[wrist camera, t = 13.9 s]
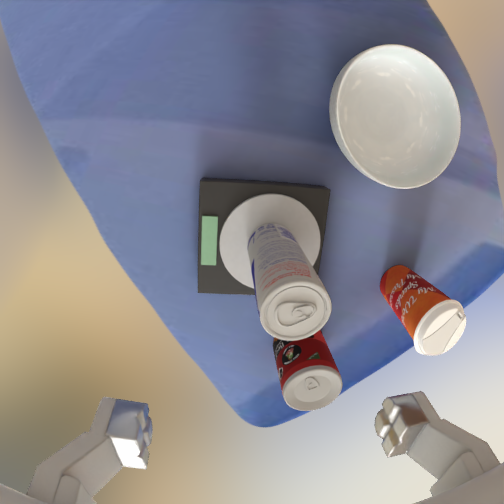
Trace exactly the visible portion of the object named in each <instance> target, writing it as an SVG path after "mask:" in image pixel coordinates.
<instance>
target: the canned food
mask: <svg viewBox="0 0 504 504" xmlns="http://www.w3.org/2000/svg"><path fill="white" fill-rule="evenodd" d="M273 350H274V355H275V360H276V365H277V370H278V375H279V380H280V385H281V390H282V394H283V397H284V399H285V402H286V403H287V404H288V405H289V406H290V407H292V408H294V409H297V410H301V411H311V410H316V409H320V408H322V407H325V406H327V405H328V404H330V403H331V402H332V401H334V400H335V399H336V398H337V397H338V395H339V394H340V392H341V389H342V379H341V376H340V373H339V371H338V368H337V366H336V364H335V362H334V359H333V357H332V355H331V353H330V350H329V348H328V346H327V344H326V341H325V339H324V337H323V335H322V333H321V331H320V330H319V331H318V332H316V333H315V334H313V335H311V336H309V337H307V338H304V339H300V340H294V341H287V340H281V339H278V338H276V337H275V338H274V342H273Z"/></svg>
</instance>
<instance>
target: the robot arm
mask: <svg viewBox="0 0 504 504" xmlns="http://www.w3.org/2000/svg"><path fill="white" fill-rule="evenodd" d="M382 406H383V409H382V410H380V411H379V412H378V413H377V416H376V418H375V429H376V432H377V435H378V436H379V437H381V438H382V439H383V442H382V446H383V448H384V451H385V453H386V455H387V457H392V456H397V455H401V454H405V453H407V455H408V456H409V457H410V458H412V459H413V460H414V461H415V462H417V463H418V464H419V465H420V466H422V467H423V468H424V469H425V470H427V471H428V472H429V473H431V474H432V475H433V476H434V477H436V478H437V479H438V481H437V482H436V483H435V484H434V485H433V486H432V487H431V489H430V491H431V494H432V496H433V497H430V498H428V499H425V500H423V501H420V502H417V503H414V504H504V462H503V463H502V464H500V463H499V461H498V459H497V458H496V456H495V454H494V453H493V451H492V450H491V448H490V446H489V445H488V443H487V442H485V441H483V440H481V439H479V438H478V437H476V436H474V435H472V434H470V433H468V432H467V431H465V430H463V429H461V428H459V427H457V426H456V425H454V424H452V423H450V422H448V421H447V420H445V419H442V420H441V419H440V418H439V416H438V414H437V413H436V411H435V410H434V408H433V406H432V405H431V403H430V402H429V400H428V399H427V397H426V395H425V394H424V393H423V392H421V391H420V392H415V393H409V394H403V395H397V396H392V397H387V398H386V399H385V400H384V401H383V403H382ZM148 413H149V408H148V404H146V403H140V402H133V401H127V400H121V399H114V398H108V397H103V398H102V399H101V401H100V404H99V406H98V409H97V412H96V414H95V417H94V420H93V423H92V425H91V428H90V431H89V433H88V432H84V433H83V434H82V435H80V436H79V437H77V438H76V439H74V440H73V441H71V442H70V443H69V444H67V445H66V446H64V447H63V448H62V449H60V450H59V451H57V452H56V453H54V454H53V455H51V456H50V457H49V458H47V459H45V460H44V461H43V462H41V463H40V464H38V465H37V468H36V471H35V473H34V475H33V478H32V481H31V484H30V486H29V489H28V492H27V494H26V495H25V494H23V493H21V492H18V491H16V490H14V489H11V488H9V487H7V486H5V485H3V484H1V483H0V504H97V503H96V502H95V500H94V499H93V498H92V497H93V496H94V495H95V494H96V493H97V492H98V491H99V490H100V489H101V488H102V487H103V486H104V485H105V484H106V483H107V482H108V481H109V480H110V479H111V478H112V477H113V476H114V475H115V474H116V473H117V472H118V471H119V470H120V469H121V468H122V466H125V467H132V468H140V469H147V464H148V458H149V452H148V449H147V446H149V445H150V444H151V440H152V421H151V418H150V417H149V416H148Z"/></svg>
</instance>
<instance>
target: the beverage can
mask: <svg viewBox="0 0 504 504" xmlns="http://www.w3.org/2000/svg"><path fill="white" fill-rule="evenodd" d="M247 250H248V255H249V261H250V267H251V272H252V278H253V284H254V290H255V296H256V301H257V307H258V313H259V317H260V320H261V324H262V326H263V328H264V329H265V330H266V331H267V332H268V333H269V334H270V335H272V336H273V337H276V338H278V339H281V340H287V341H294V340H300V339H304V338H307V337H309V336H311V335H313V334H315V333H316V332H318V331H319V330H320V329H321V328H322V327H323V326H324V325H325V323H326V322H327V321H328V318H329V316H330V314H331V300H330V297H329V295H328V293H327V291H326V289H325V287H324V285H323V284H322V282H321V280H320V279H319V277H318V275H317V273H316V272H315V270H314V268H313V267H312V265H311V263H310V262H309V260H308V259H307V257H306V255H305V254H304V252H303V250H302V249H301V247H300V245H299V244H298V242H297V241H296V239H295V237H294V236H293V234H292V232H291V231H290V230H289V229H288V228H286V227H285V226H283V225H280V224H276V223H269V224H265V225H262V226H260V227H258V228H257V229H256V230H255V231H254V232H253V233H252V234H251V236H250V238H249V240H248V245H247Z"/></svg>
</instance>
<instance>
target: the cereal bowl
mask: <svg viewBox="0 0 504 504" xmlns="http://www.w3.org/2000/svg"><path fill="white" fill-rule="evenodd" d="M329 112H330V113H329V114H330V123H331V127H332V132H333V134H334V137H335V139H336V142H337V144H338V146H339V147H340V150H341V151H342V153H343V154H344V155H345V157H346V158H347V159H348V160H349V162H350V163H351V164H352V165H353V166H354V167H355V168H356V169H357V170H359V171H360V172H361V173H363V174H364V175H365V176H367V177H368V178H370V179H372V180H374V181H375V182H378V183H380V184H382V185H386V186H388V187H393V188H399V189H409V188H416V187H419V186H422V185H424V184H427V183H429V182H431V181H432V180H434V179H435V178H436V177H438V176H439V175H440V174H441V173H442V172H443V171H444V170H445V168H446V167H447V166H448V165H449V163H450V161H451V160H452V158H453V156H454V154H455V152H456V149H457V146H458V142H459V137H460V129H461V119H460V110H459V105H458V101H457V98H456V95H455V92H454V90H453V87H452V85H451V83H450V81H449V80H448V78H447V77H446V75H445V74H444V72H443V71H442V70H441V69H440V67H439V66H438V65H437V64H436V63H435V62H434V61H433V60H431V59H430V58H429V57H428V56H426V55H425V54H423V53H421V52H420V51H418V50H416V49H413V48H411V47H408V46H404V45H398V44H386V45H379V46H375V47H372V48H369V49H367V50H365V51H363V52H361V53H359V54H357V55H356V56H355V57H353V58H352V59H351V60H350V61H348V63H347V64H346V65H345V66H344V67H343V68H342V70H341V71H340V72H339V75H338V76H337V78H336V80H335V83H334V84H333V87H332V91H331V96H330V104H329Z"/></svg>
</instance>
